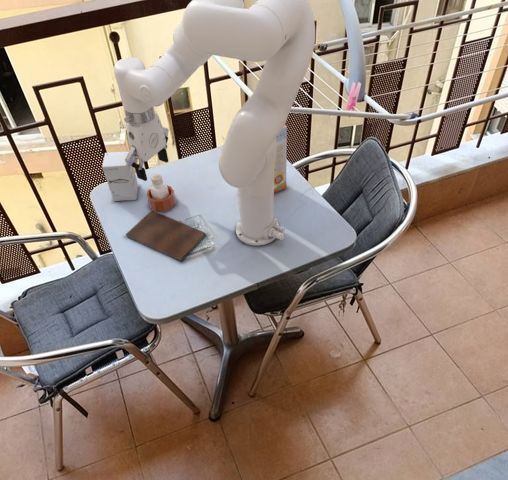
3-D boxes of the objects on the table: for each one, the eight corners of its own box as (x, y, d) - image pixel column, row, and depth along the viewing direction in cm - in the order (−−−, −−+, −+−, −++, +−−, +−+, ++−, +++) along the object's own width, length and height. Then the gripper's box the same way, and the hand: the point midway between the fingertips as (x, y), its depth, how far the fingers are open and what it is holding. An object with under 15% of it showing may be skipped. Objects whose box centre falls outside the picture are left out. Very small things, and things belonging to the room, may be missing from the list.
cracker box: (277, 178, 148) (277, 115, 131) (286, 189, 145) (288, 126, 127) (238, 193, 144) (233, 130, 127) (247, 204, 141) (243, 141, 124)
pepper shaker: (163, 209, 141) (156, 183, 134) (153, 204, 143) (146, 178, 135) (171, 202, 143) (165, 175, 135) (162, 197, 145) (155, 171, 137)
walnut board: (206, 235, 134) (205, 232, 133) (181, 261, 129) (180, 259, 128) (152, 212, 141) (151, 210, 140) (126, 236, 135) (125, 234, 134)
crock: (180, 200, 144) (178, 189, 140) (164, 215, 140) (162, 204, 137) (160, 192, 146) (157, 181, 143) (144, 206, 142) (141, 196, 139)
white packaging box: (113, 202, 144) (100, 166, 134) (116, 186, 148) (104, 151, 138) (136, 200, 144) (126, 165, 134) (139, 185, 148) (129, 150, 138)
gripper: (129, 133, 114) (144, 190, 128) (171, 100, 122) (181, 158, 136) (106, 125, 116) (123, 182, 131) (149, 93, 124) (161, 150, 139)
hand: (153, 169), depth 133 cm, fingers open, 9 cm apart
